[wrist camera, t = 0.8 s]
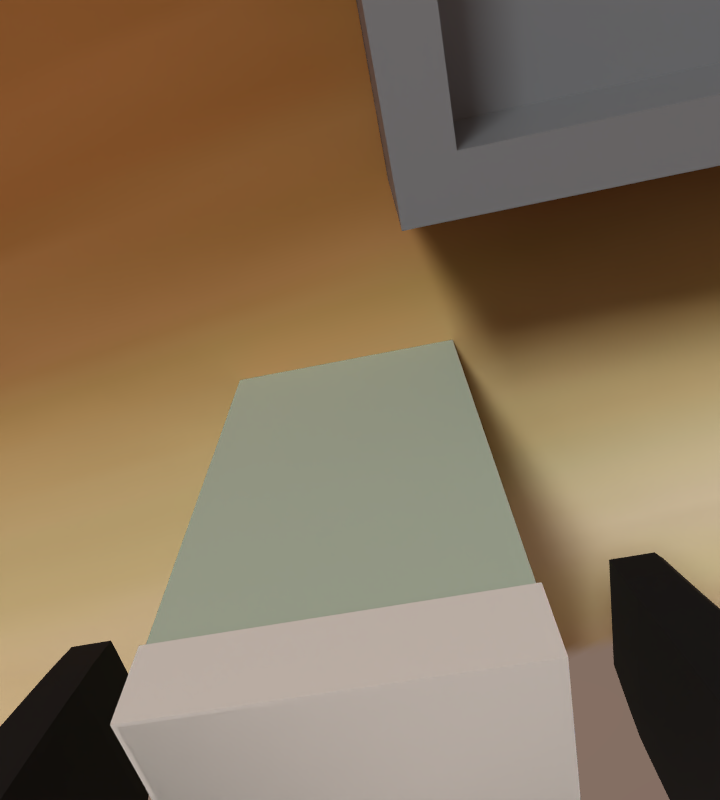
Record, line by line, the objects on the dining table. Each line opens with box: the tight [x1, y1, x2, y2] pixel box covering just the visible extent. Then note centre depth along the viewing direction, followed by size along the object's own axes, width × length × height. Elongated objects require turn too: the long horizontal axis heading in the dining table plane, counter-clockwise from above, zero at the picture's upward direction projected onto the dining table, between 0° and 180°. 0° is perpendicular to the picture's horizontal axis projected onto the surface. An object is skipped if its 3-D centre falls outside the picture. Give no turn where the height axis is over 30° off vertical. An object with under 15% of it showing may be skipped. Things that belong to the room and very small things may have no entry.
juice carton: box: [110, 340, 581, 800], centre depth 11 cm, size 4×4×8 cm
